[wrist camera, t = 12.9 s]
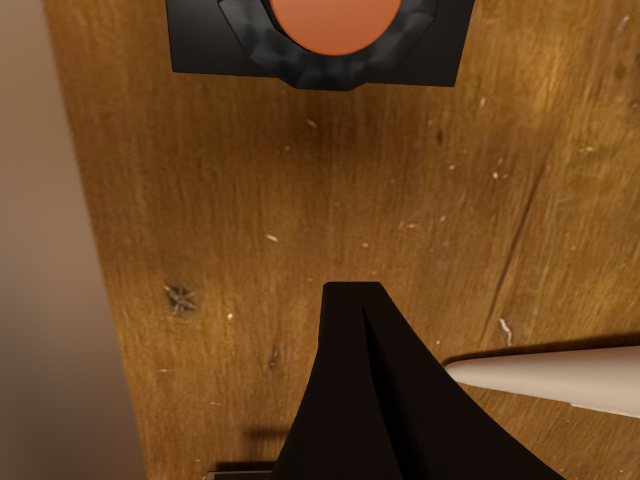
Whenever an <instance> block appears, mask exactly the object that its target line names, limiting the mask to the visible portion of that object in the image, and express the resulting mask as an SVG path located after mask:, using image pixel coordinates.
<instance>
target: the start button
mask: <svg viewBox="0 0 640 480" xmlns="http://www.w3.org/2000/svg"><path fill="white" fill-rule="evenodd" d="M401 1H402V0H270V3H271V7H272V10H273V12H274V14H275V17H276V19H277V20H278V22H279V24H280V26H281V27H282V28H283V30H284V31H285V32H286V33H287V34H288V35H289V36H290V37H291V38H292V39H293V40H294V41H295V42H296V43H298V44H299V45H301V46H302V47H304V48H306V49H308V50H310V51H313V52H315V53H319V54H323V55H345V54H349V53H353V52H356V51H358V50H361V49H363V48H365V47H366V46H368V45H370V44H371V43H373V42H374V41H375V40H376V39H378V38H379V37H380V36H381V35H382V34H383V33H384V32H385V30H386V29H387V28H388V27H389V25H390V24H391V22H392V21H393V19H394V17H395V15H396V13H397V11H398V9H399V6H400V4H401Z"/></svg>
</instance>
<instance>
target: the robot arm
mask: <svg viewBox="0 0 640 480" xmlns="http://www.w3.org/2000/svg"><path fill="white" fill-rule="evenodd" d="M267 480H566V479H564V478H563V477H562V476H560V475H559V474H558V473H556V472H555V471H554V470H552V469H551V468H550V467H549V466H547V465H546V464H545V463H543V462H542V461H541V460H540V459H538V458H537V457H536V456H535V455H534V454H532V453H531V452H530V451H529V450H528V449H526V448H525V447H524V446H523V445H522V444H521V443H519V442H518V441H517V440H516V439H515V438H513V437H512V436H511V435H510V434H509V433H507V432H506V431H505V430H504V429H503V428H502V427H501V426H500V425H498V424H497V423H496V422H495V421H494V420H493V419H492V418H491V417H490V416H489V415H488V414H487V413H486V412H485V411H484V410H483V409H482V408H481V407H480V406H479V405H478V404H477V403H476V402H475V401H473V400H472V399H471V398H470V396H469V395H468V394H467V393H466V392H465V391H464V390H463V389H462V388H461V387H460V386H459V385H458V384H457V383H456V382H455V380H454V379H453V378H452V377H451V376H450V375H449V374H448V373H447V371H446V370H445V369H444V368H443V367H442V366H441V364H440V363H439V362H438V361H437V360H436V359H435V357H434V356H433V355H432V354H431V352H430V351H429V350H428V349H427V347H426V346H425V345H424V343H423V342H422V341H421V340H420V338H419V337H418V336H417V334H416V333H415V332H414V331H413V329H412V328H411V327H410V325H409V324H408V322H407V321H406V320H405V318H404V317H403V315H402V314H401V313H400V311H399V310H398V308H397V307H396V305H395V304H394V302H393V301H392V299H391V298H390V296H389V295H388V293H387V292H386V290H385V289H384V287H383V286H382V285H381V284H380V282H327V283H326V284H325V285H323V294H322V304H321V314H320V324H319V335H318V350H317V354H316V358H315V361H314V364H313V368H312V371H311V375H310V378H309V381H308V384H307V387H306V390H305V393H304V396H303V399H302V402H301V404H300V407H299V410H298V412H297V415H296V417H295V420H294V422H293V425H292V427H291V429H290V432H289V434H288V437H287V439H286V441H285V443H284V446H283V448H282V450H281V452H280V454H279V457H278V459H277V461H276V463H275V465H274V467H273V469H272V471H271V473H270V475H269V477H268V479H267Z"/></svg>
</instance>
